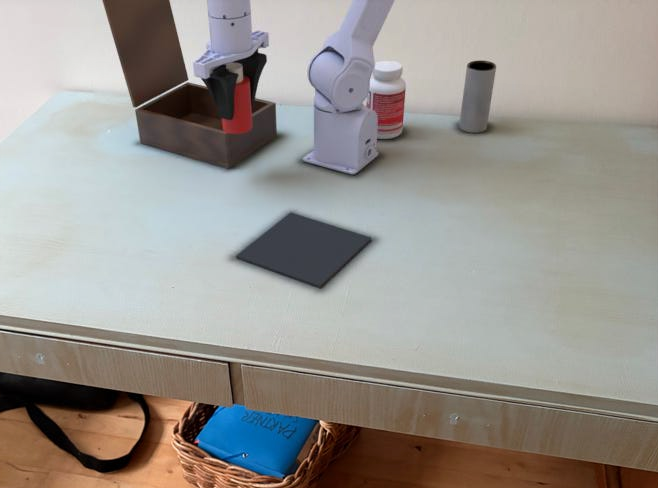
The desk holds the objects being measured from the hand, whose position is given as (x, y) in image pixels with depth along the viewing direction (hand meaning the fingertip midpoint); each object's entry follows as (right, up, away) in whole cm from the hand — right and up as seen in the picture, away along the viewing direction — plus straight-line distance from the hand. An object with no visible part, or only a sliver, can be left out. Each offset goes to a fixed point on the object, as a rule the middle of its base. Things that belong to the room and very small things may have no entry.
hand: (236, 111), depth 108 cm
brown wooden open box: (-6, +1, +17) cm, 18 cm away
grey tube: (+39, +3, +17) cm, 42 cm away
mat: (+9, -21, -9) cm, 25 cm away
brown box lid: (-15, +17, +12) cm, 25 cm away
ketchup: (0, -2, +2) cm, 2 cm away
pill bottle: (+24, +2, +17) cm, 29 cm away
